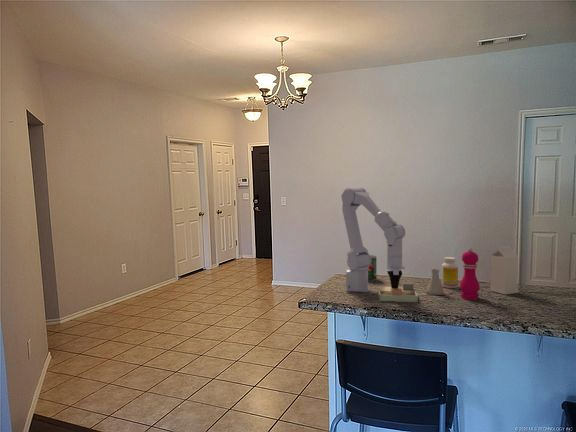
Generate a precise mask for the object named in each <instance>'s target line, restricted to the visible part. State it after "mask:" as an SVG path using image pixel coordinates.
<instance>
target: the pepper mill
mask: <svg viewBox="0 0 576 432" xmlns="http://www.w3.org/2000/svg"><path fill="white" fill-rule="evenodd" d="M461 260H462V262H463V264H462V268H463V270H464V271H463V272H464V273H463V277H462V279H461V280H460V282H459V283H460V284H459V289H460V290H461V292H460V297H461V299H464V300H467V299H468V300H469V301H470V300H471V301H476V300H478V299H479V293H478V292H479V291H480V288H481V287H480V282H479V280H478V277H477V274H476V269H477V267H478V265H477V263H478V262H479V255H478V254H477V253H476V252H475V251H473V248H472V247H468V248H467V251H465V252H463V253H462V255H461Z"/></svg>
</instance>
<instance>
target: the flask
mask: <svg viewBox="0 0 576 432" xmlns="http://www.w3.org/2000/svg"><path fill="white" fill-rule="evenodd" d="M439 272H440V269H439V268H431V278H430V281H429V284H428V286H427V288H426V291H425V292H426V294H429V295H433V296H434V295H435V296H439V295H444V294H445V292H444V289H443V288H444V287H443V286H442V282H441V280H440V275H439Z"/></svg>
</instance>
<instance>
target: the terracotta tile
mask: <svg viewBox="0 0 576 432" xmlns="http://www.w3.org/2000/svg"><path fill="white" fill-rule="evenodd" d="M391 295H402V289H401V288H391Z"/></svg>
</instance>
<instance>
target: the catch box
mask: <svg viewBox="0 0 576 432" xmlns="http://www.w3.org/2000/svg"><path fill="white" fill-rule="evenodd" d="M387 301H395V302H394V303H419V295H418V293H417V291H415V296H413V295H381V294H380V291H379V290H378V302H387Z"/></svg>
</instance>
